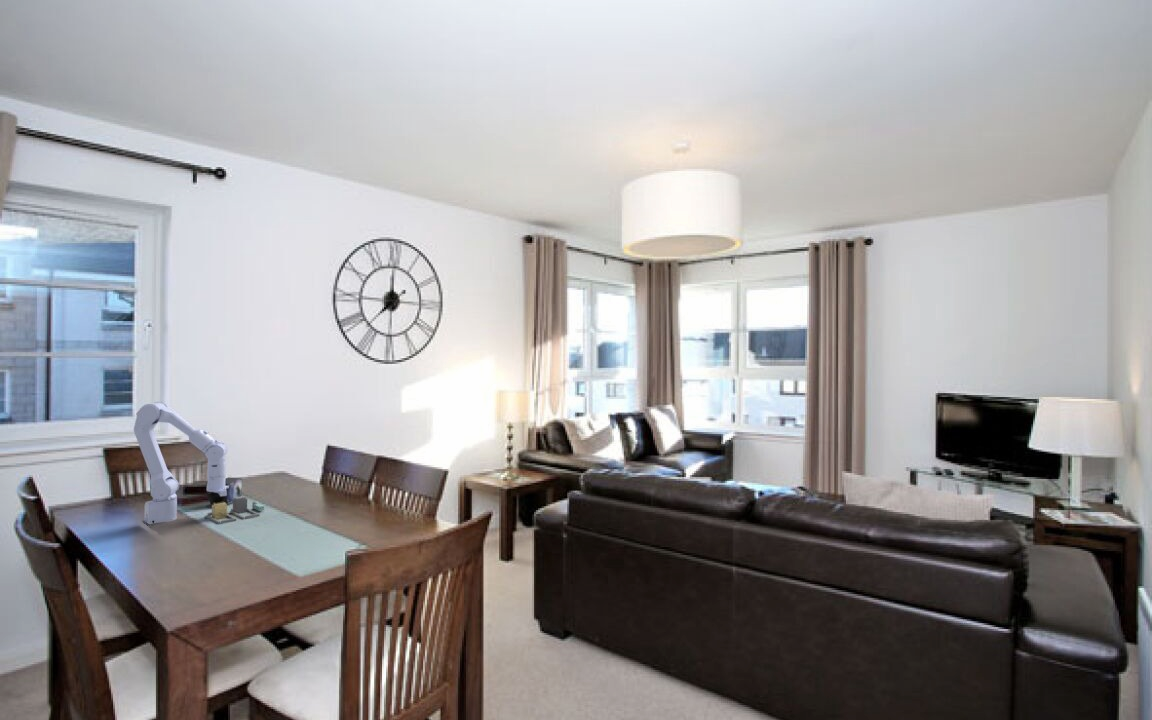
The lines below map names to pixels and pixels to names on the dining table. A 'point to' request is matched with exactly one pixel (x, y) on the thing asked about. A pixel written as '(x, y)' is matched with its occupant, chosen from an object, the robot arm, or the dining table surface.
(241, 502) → the slider graphite
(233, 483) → the small box
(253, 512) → the control board
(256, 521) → the dining table surface
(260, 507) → the paddle
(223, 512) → the slider brass
